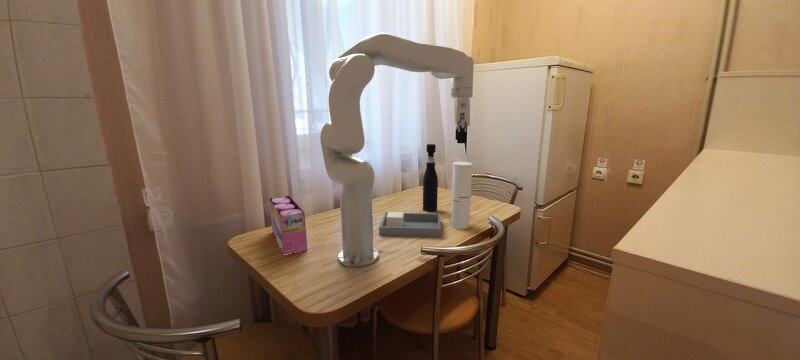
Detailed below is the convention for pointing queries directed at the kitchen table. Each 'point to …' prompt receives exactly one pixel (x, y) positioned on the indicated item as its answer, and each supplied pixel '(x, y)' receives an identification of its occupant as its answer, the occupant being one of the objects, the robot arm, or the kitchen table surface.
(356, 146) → the robot arm
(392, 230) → the tray
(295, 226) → the gum box
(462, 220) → the cylindrical container
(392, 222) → the cream box
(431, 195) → the wine bottle
